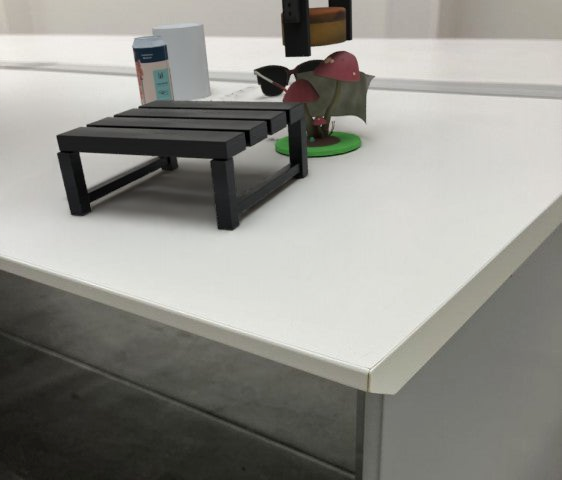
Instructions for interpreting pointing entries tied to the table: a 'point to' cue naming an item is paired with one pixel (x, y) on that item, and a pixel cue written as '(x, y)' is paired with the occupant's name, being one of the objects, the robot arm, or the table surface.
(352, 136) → the mushroom figurine
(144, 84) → the beer can
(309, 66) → the sunglasses
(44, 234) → the table surface
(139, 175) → the rack
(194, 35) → the cup
